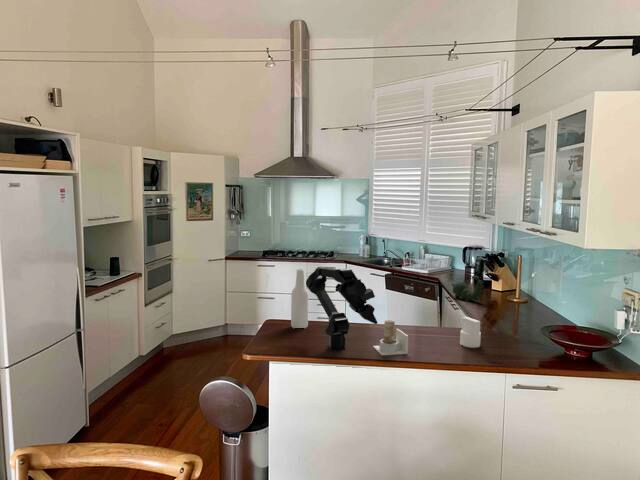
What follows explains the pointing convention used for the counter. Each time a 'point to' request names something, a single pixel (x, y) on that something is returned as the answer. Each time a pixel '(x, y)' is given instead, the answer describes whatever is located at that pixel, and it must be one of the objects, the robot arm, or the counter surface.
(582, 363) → the counter surface
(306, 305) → the alcohol
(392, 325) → the maple rail post
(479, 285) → the toy figurine
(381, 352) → the cup bracket
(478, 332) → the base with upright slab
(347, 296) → the robot arm
